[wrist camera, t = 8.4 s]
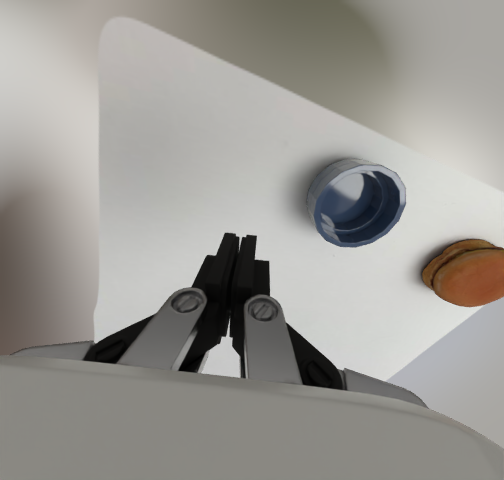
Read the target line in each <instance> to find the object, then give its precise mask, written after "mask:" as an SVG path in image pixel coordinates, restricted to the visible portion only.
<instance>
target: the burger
mask: <svg viewBox="0 0 504 480" xmlns="http://www.w3.org/2000/svg"><path fill="white" fill-rule="evenodd" d="M422 277H423V281H424V283H425V285H426V286H427V287H429V288H430V289H431V290H434V292H435V294H436V295H437V296H439V297H440V298H442V299H443V300H445V301H447V302H450V303H452V304H455V305H458V306H464V307H475V306H481V305H485V304H487V303H490V302H492V301H495V300H498V299H500V298H502V297H503V296H504V249H503V248H501V247H495V246H494V245H493V244H490V243H489V242H487V241H484V240H475V239H474V240H471V239H470V240H468V241H465V240H464V241H461V242H458V243H456V244H453V245H452V246H450V247H448V248H447V249H445V250H444V251H443V254H441V255H440V256H438V257H436V258H435V259H433V260H432V261H431V263H429V264H428V266H427V267H426V268H425V269H424V270H423V273H422Z"/></svg>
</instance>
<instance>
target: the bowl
mask: <svg viewBox="0 0 504 480" xmlns="http://www.w3.org/2000/svg"><path fill="white" fill-rule="evenodd" d="M405 205H406V191H405V186H404V184H403V183H402V181H401V179H400V178H399V176H398V174H397V173H395V172H393V171H392V170H390V169H388V168H386V167H384V166H382V165H379V164H376V163H372V162H369V161H366V160H362V159H345V160H342V161H339V162H336V163H334V164H331V165H329V166H328V167H327V168H326V169H325V170H323V171H322V172H321V173H320V174H318V175H317V176H316V178H315V180H314V181H313V183H312V185H311V187H310V188H309V191H308V197H307V208H308V212H309V215H310V217H311V219H312V221H313V223H314V225H315V227H316V229H317V231H318V232H319V233H320V234H321V235H322V237H323V238H324V239H325V240H326V241H328V242H330V243H332V244H335V245H337V246H339V247H359V246H363V245H366V244H370V243H373V242H374V241H376V240H378V239H379V238H381V237H382V236H384V235H386V234H387V233H388V232H389V231H390V230H391V229H392V228H393V226H394V225H395V224H396V223H397V222H398V221H399V219H400V217H401V215H402V212H403V210H404V207H405Z"/></svg>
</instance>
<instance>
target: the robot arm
mask: <svg viewBox="0 0 504 480" xmlns="http://www.w3.org/2000/svg"><path fill="white" fill-rule="evenodd" d="M256 239H257V236H254V235H247V236H246V237H242V241H241V245H240V250H239V237H237V236H236V234H233V233H225V234H224V237H223V239H222V242H221V244H220V247H219V249H218V252H217V254H216V256H213V255H207V256H206V258H205V260H204V262H203V264H202V266H201V268H200V270H199V272H198V274H197V276H196V279H195V281H194V283H193V285H192V287H189V288H183V289H180V290H178V291H176V292H174V293H173V294H172V295H171V296H170V297H169V298H168V299H167V301H166V302H165V303H164V304H163V306H162V307H161V308H160V309H159V311H158V312H157V313H156V314H154V315H152V316H150V317H148V318H146V319H143V320H141V321H139V322H137V323H135V324H133V325H131V326H129V327H127V328H125V329H122V330H120V331H118V332H116V333H114V334H112V335H110V336H108V337H106V338H104V339H103V340H101V341H99V342H98V343H94V341H84V342H74V343H64V344H54V345H45V346H35V347H29V348H25V349H21V350H19V351H17V352H14V353H12V354H10V355H4V356H0V480H504V449H503V448H502V447H500V446H499V445H497V444H496V443H494V442H493V441H491V440H490V439H488V438H486V437H485V436H483V435H482V434H480V433H478V432H477V431H475V430H473V429H471V428H470V427H467V426H466V425H464V424H462V423H460V422H458V421H455V420H453V419H452V418H449V417H447V416H445V415H443V414H440V413H438V412H436V411H433V410H430V409H429V408H428V407H427V406H426V404H425V403H424V402H423V401H422V400H421V399H420V398H419V397H417V396H416V395H415V394H414V393H412V392H411V391H408V390H406V389H404V388H402V387H399V386H396V385H393V384H390V383H387V382H384V381H381V380H378V379H375V378H373V377H370V376H367V375H364V374H361V373H358V372H355V371H352V370H349V369H346V368H344V370H343V371H342V370H339V369H337V368H336V367H335V366H334V365H333V363H332V362H331V361H330V360H329V359H327V358H326V357H325V356H324V355H323V354H322V353H321V352H319V351H318V350H317V349H316V348H315V347H314V346H313V345H311V344H310V343H309V342H308V341H307V340H306V339H305V338H303V337H302V336H301V335H300V334H299V333H298V332H297V331H295V330H294V329H293V328H292V327H291V326H290V325H289V324H287V323H286V321H285V318H284V314H283V310H282V308H281V305H280V304H279V303H278V301H277V300H275V299H274V298H272V297H270V275H269V261H263V260H255V250H256ZM229 319H230V337H233V341H232V347H233V348H234V349H235V350H236V352H237V353H238V354H239V356H240V359H239V362H240V378H236V377H227V376H218V375H209V374H201V372H202V370H203V367H204V365H205V363H206V360H207V358H208V355H209V350H210V349H211V348H213V347H214V346H216V345H217V344H220V342H221V337H222V336H223V337H226V334H227V329H228V324H229Z"/></svg>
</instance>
